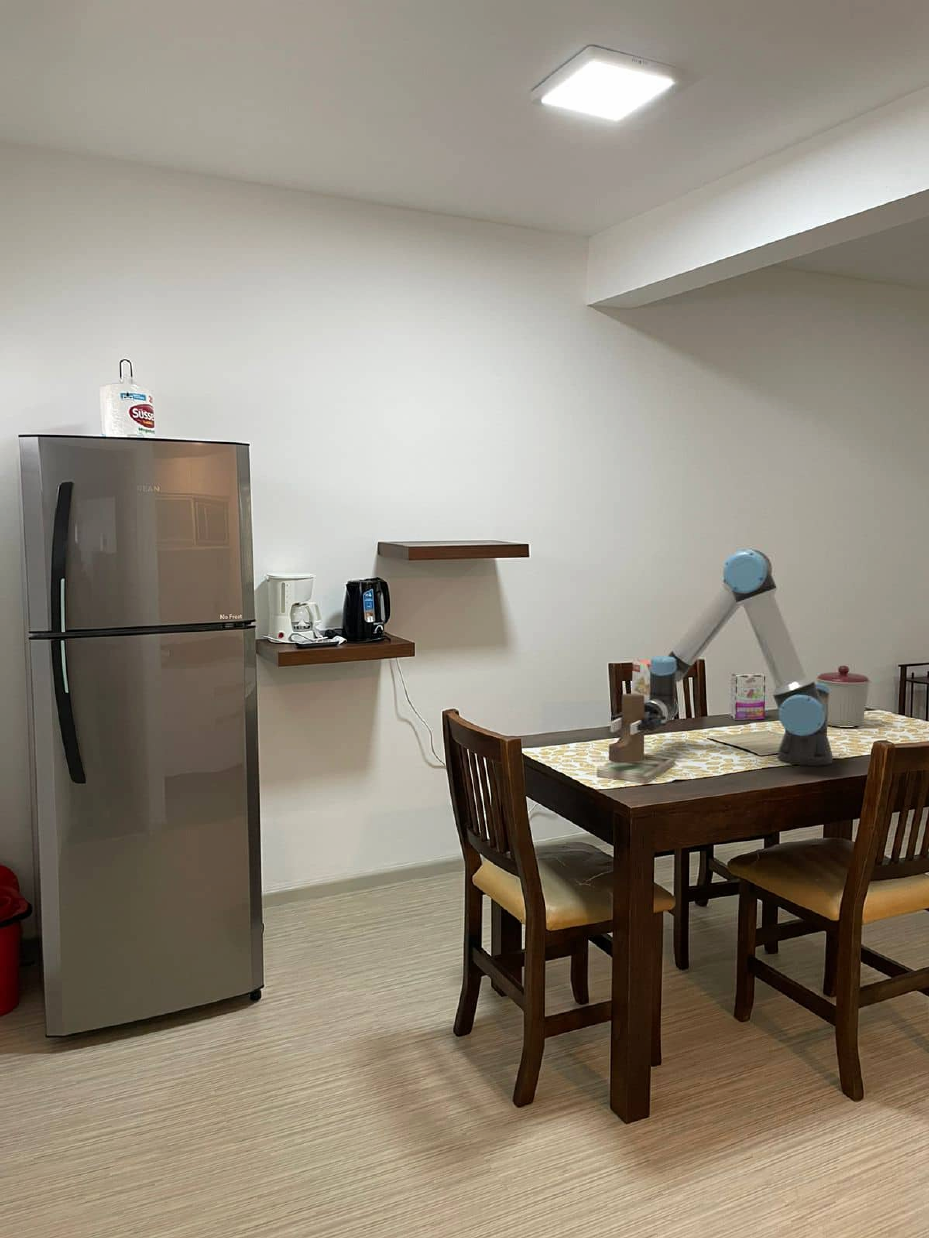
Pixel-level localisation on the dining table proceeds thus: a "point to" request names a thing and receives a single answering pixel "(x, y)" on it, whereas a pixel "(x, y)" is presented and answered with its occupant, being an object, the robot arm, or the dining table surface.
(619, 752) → the wooden block
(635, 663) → the cracker box
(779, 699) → the robot arm
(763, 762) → the dining table surface
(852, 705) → the canister
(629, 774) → the board
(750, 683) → the candy bar box
